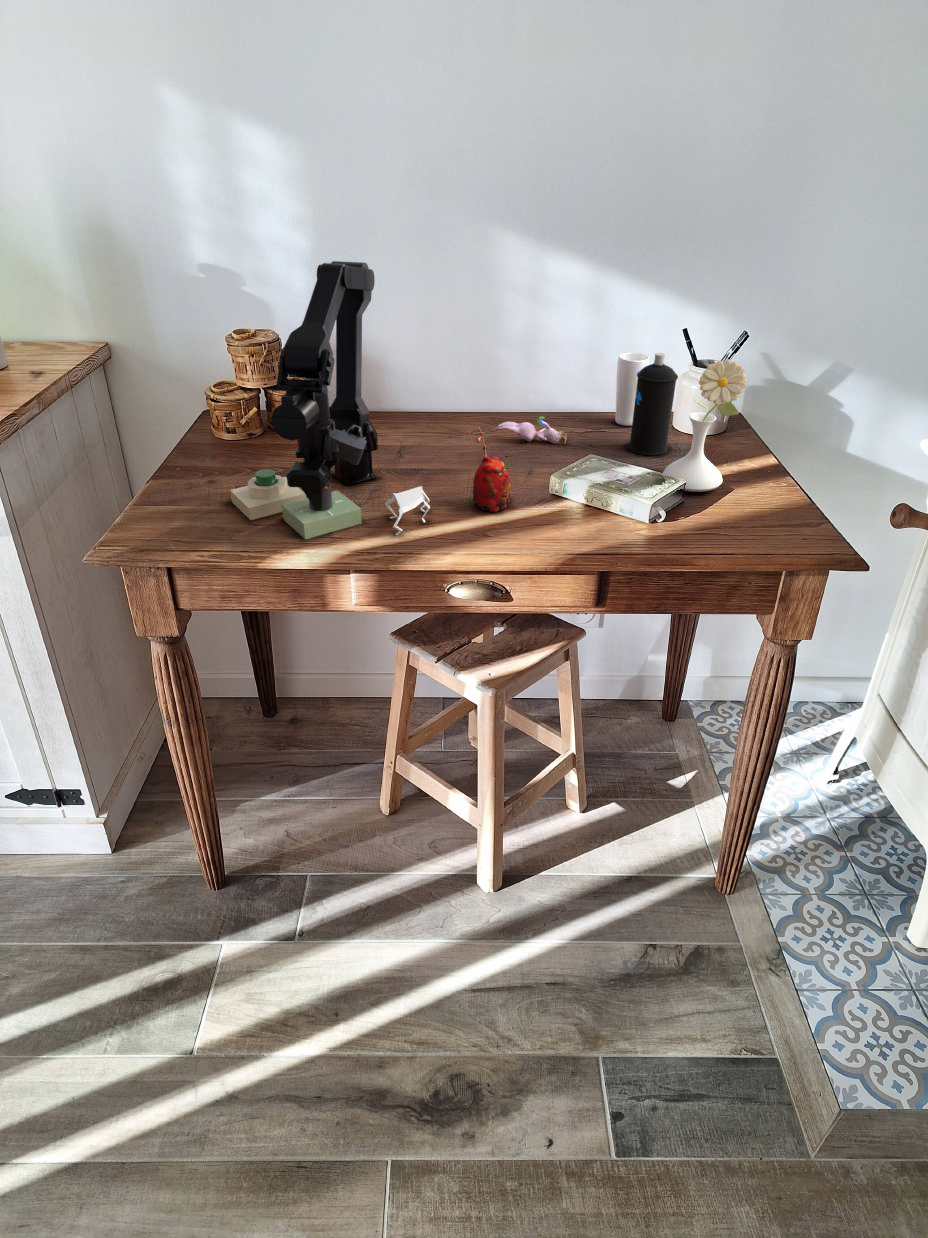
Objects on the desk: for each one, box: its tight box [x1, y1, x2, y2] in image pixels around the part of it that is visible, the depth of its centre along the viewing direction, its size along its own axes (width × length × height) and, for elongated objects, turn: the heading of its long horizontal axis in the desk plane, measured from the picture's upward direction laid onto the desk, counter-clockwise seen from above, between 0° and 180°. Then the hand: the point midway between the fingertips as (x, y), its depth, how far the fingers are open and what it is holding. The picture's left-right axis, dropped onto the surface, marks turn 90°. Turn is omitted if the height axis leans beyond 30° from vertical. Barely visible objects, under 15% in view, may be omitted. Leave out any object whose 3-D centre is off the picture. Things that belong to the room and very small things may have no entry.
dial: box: [309, 481, 333, 511], centre depth 148 cm, size 4×4×4 cm
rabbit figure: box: [497, 416, 568, 445], centre depth 182 cm, size 6×6×15 cm
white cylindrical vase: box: [614, 352, 650, 427], centre depth 190 cm, size 7×7×15 cm
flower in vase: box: [662, 358, 748, 493], centre depth 158 cm, size 13×11×25 cm
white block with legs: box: [384, 485, 431, 536], centre depth 149 cm, size 12×8×5 cm
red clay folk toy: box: [472, 426, 512, 513], centre depth 153 cm, size 8×7×15 cm
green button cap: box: [254, 468, 277, 486], centre depth 154 cm, size 4×4×2 cm
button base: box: [229, 474, 307, 521], centre depth 156 cm, size 11×9×4 cm
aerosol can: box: [627, 352, 679, 457], centre depth 175 cm, size 8×8×20 cm
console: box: [282, 490, 363, 540], centre depth 150 cm, size 11×9×3 cm
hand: (320, 503), depth 149 cm, fingers closed on dial, 4 cm apart
